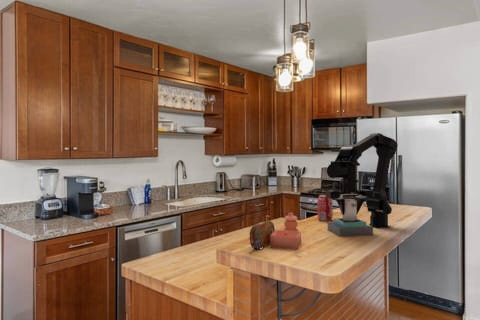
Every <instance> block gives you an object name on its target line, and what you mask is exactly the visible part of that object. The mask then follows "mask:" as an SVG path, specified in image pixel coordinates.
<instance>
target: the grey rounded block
mask: <svg viewBox="0 0 480 320" xmlns="http://www.w3.org/2000/svg"><path fill="white" fill-rule="evenodd" d="M344 199H345V198H344ZM357 217H358V214H357V200H355V199H348V198H347V199H345V211H344V215H342V218H343V220H346V221H356V220H357V219H358V218H357Z"/></svg>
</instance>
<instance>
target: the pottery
mask: <svg viewBox="0 0 480 320" xmlns="http://www.w3.org/2000/svg"><path fill="white" fill-rule="evenodd" d="M284 220H285V221H284V223H283V224H284V227H285V228H284V229H283V230H282V229H275V231H274V232H273V233H272V234H271V235H270V245H269V247H270V246H271V247H270V248H277V247H281V249H288V248H290V249H291V250H298V248H299V247H300V245H301V243H302V231H299V229H298V228H297V227H298V224H299V223H298V217H297V216H296V215H294V212H288V215H286V216H285V217H284Z"/></svg>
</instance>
